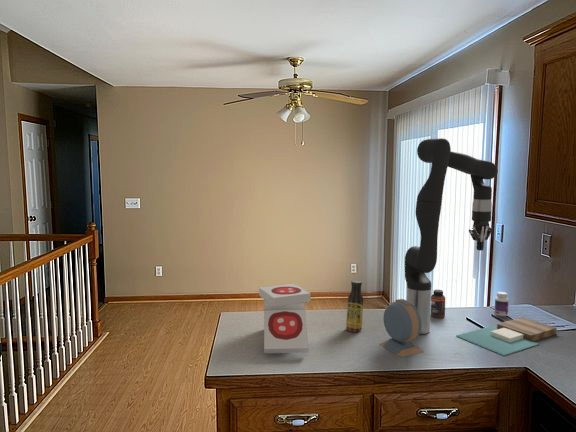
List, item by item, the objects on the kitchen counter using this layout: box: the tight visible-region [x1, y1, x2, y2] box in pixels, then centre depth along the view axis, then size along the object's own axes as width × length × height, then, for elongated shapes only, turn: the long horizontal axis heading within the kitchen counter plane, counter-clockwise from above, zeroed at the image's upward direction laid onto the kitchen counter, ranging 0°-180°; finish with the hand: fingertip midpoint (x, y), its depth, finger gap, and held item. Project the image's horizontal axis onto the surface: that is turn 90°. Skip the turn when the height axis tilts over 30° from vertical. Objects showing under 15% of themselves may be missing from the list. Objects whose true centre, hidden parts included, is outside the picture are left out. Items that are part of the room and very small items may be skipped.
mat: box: [455, 325, 540, 357], centre depth 162 cm, size 20×20×1 cm
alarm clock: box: [379, 298, 425, 358], centre depth 155 cm, size 14×10×18 cm
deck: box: [496, 316, 557, 342], centre depth 171 cm, size 16×14×2 cm
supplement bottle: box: [430, 289, 446, 319], centre depth 189 cm, size 6×6×11 cm
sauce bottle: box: [345, 279, 364, 333], centre depth 172 cm, size 7×6×20 cm
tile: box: [491, 328, 524, 342], centre depth 165 cm, size 8×8×2 cm
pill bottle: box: [493, 291, 510, 317], centre depth 191 cm, size 5×5×10 cm
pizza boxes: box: [258, 283, 312, 354], centre depth 160 cm, size 19×30×18 cm, turn 3°
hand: (479, 250), depth 186 cm, fingers closed
